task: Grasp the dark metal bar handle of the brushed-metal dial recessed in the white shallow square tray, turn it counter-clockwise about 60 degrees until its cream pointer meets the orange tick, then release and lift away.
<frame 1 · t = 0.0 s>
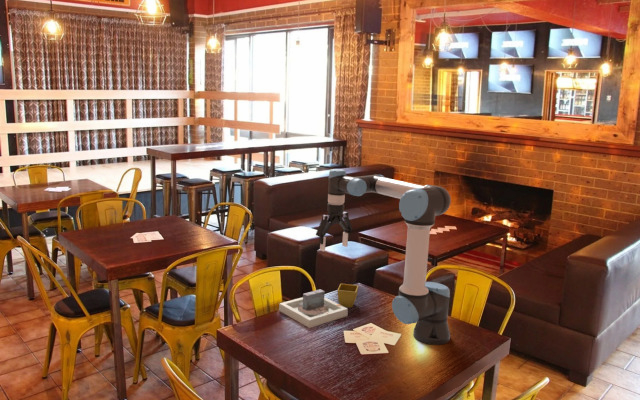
hand: (333, 248, 261), 28 cm above the table, fingers open, 13 cm apart
dial: (313, 301, 256), point 6 cm above the table, hinge at 0.0°
flower pot: (347, 306, 268), on the table
white shallow square tray: (313, 313, 257), on the table
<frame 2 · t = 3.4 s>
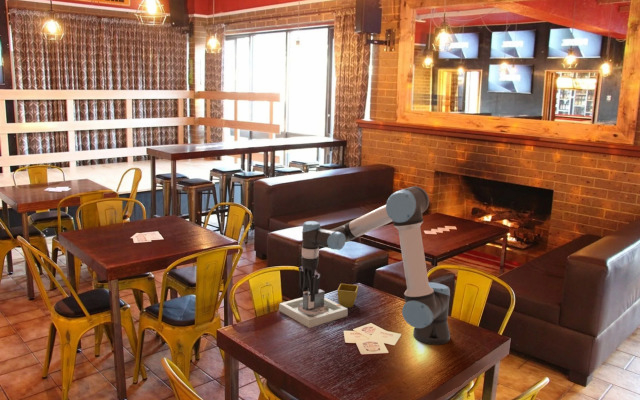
hand: (308, 306, 254), 4 cm above the table, fingers closed on dial, 3 cm apart
dial: (313, 301, 256), point 6 cm above the table, hinge at 0.0°, touching gripper
everything else where it was.
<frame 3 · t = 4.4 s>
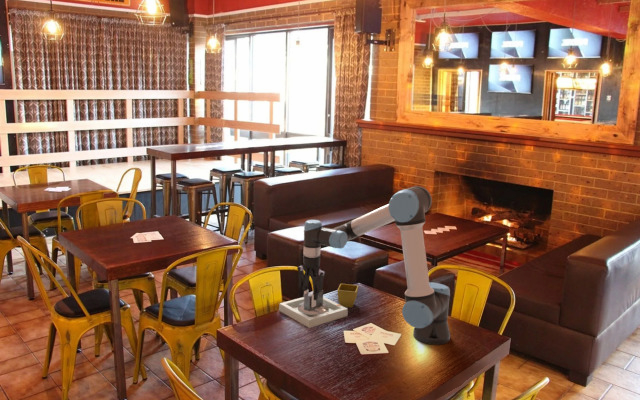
hand: (309, 305, 254), 5 cm above the table, fingers closed on dial, 3 cm apart
dial: (313, 301, 256), point 6 cm above the table, hinge at 13.1°, touching gripper
everything else where it was.
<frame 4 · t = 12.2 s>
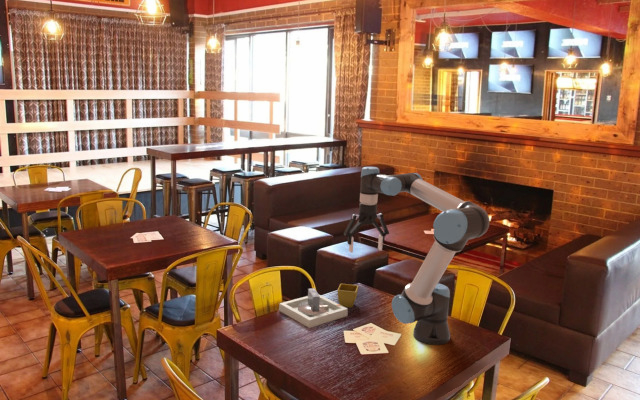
hand: (365, 250, 247), 32 cm above the table, fingers open, 13 cm apart
dial: (313, 301, 256), point 6 cm above the table, hinge at 64.1°
everything else where it was.
at the end: dial at +64° (first picture: +0°); the gripper is holding nothing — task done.
